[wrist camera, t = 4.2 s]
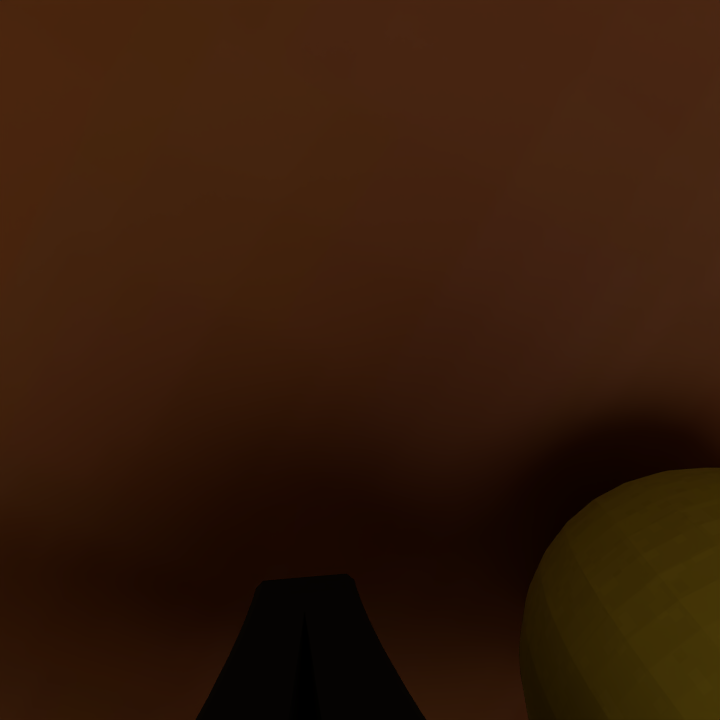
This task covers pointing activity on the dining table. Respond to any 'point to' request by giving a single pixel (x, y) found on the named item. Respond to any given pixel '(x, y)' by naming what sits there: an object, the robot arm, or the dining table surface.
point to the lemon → (629, 606)
